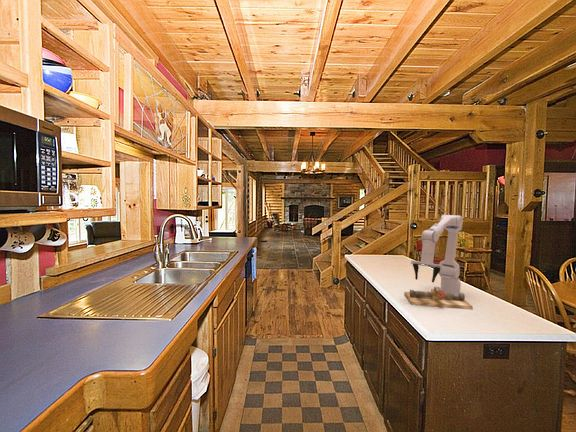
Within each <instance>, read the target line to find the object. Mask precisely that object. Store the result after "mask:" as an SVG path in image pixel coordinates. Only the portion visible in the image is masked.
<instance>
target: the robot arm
mask: <svg viewBox="0 0 576 432" xmlns="http://www.w3.org/2000/svg"><path fill="white" fill-rule="evenodd" d="M439 220H440V221H439V222H438V223H434V224H433V225H432V226H431V227H429V229H425V230H423V231H422V233H421V237H420V238H421V244H422V248H421V256H420V261H419V260H413V259H411V260H410V264H411V265H412V267H413V270H414V275H415V277H414V278H415V280H418V278H419V277H418V276H419V275H418V273H419V268H420V267H419V266H422V267H426V268H427V267H428V268H433V269H432V277H431V278H432V279H431V282H432V283H435V281H436V278H437V275H439V277H440V288H439V289H440V290H442V291H443V292H444V293H452V294H459V293H461V285H462V284H461V279H460V273H461V270H460V268H461V267H460V264H459V263H458V262H457V261H456V260H455V259H456V254H457V252H456V251H457V246H458V238H459V232H460V231H462V230H463V224H464V221H463V220H464V218H463V216H461V215H455V214H454V215H452V214H441V216H440V218H439ZM444 230H446V231H447V232H448V233H447V238H446V239H447V240H446V246H445V249H446V250H445V256H444V259H443V260H440V262H439V263H434V257H435V250H436V243H437V242H438V241H439V238H440V236H441V235H442V234H443V233H444Z"/></svg>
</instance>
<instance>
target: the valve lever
mask: <svg viewBox="0 0 576 432" xmlns="http://www.w3.org/2000/svg"><path fill="white" fill-rule="evenodd" d="M433 289H434V290H436V291H437V292H438V294H439V295H440V296H445V297H446V294H445V293H444V292H443V291H442V290H440V289H441V288H440V287H438V286H434V287H433Z"/></svg>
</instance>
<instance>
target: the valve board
mask: <svg viewBox="0 0 576 432" xmlns="http://www.w3.org/2000/svg"><path fill="white" fill-rule="evenodd" d="M403 293H404V296H405V298H406V299H407V301H408V303H409V304H410V305H412V306H425V307H426V306H427V307H438V308H440V307H441V308H451V309H452V308H453V309H465V310H473V305H472V304H471V303H470V302H469V301H467V300H466V296H465V294H464V293H461V292H460V293H459V294H452V293H445V294H446V297H445V296H440V295H439V294H438V292H437V291H436V290H434V288H431V289H430V291H421V290H414V289H409V291H404V292H403Z"/></svg>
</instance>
